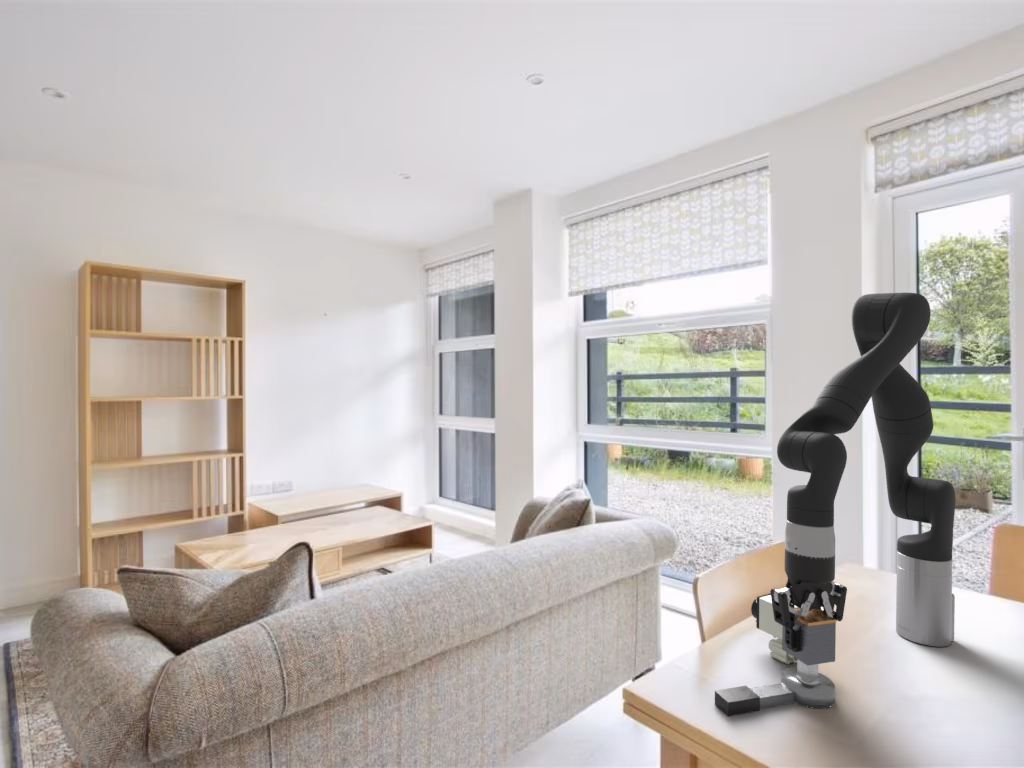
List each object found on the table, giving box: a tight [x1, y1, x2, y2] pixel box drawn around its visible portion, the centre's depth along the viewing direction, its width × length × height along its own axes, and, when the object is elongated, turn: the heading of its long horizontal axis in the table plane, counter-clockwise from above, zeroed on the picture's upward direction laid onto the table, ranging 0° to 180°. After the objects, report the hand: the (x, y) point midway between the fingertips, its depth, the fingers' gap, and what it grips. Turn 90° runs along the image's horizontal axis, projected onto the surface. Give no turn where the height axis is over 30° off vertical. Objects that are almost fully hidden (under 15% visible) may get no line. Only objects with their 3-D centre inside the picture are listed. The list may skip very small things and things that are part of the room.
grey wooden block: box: [782, 607, 837, 666], centre depth 92 cm, size 6×6×7 cm
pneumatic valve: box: [750, 592, 797, 665], centre depth 104 cm, size 6×12×12 cm, turn 27°
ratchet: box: [714, 659, 836, 717], centre depth 91 cm, size 21×8×6 cm, turn 105°
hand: (808, 647), depth 92 cm, fingers closed on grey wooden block, 5 cm apart
